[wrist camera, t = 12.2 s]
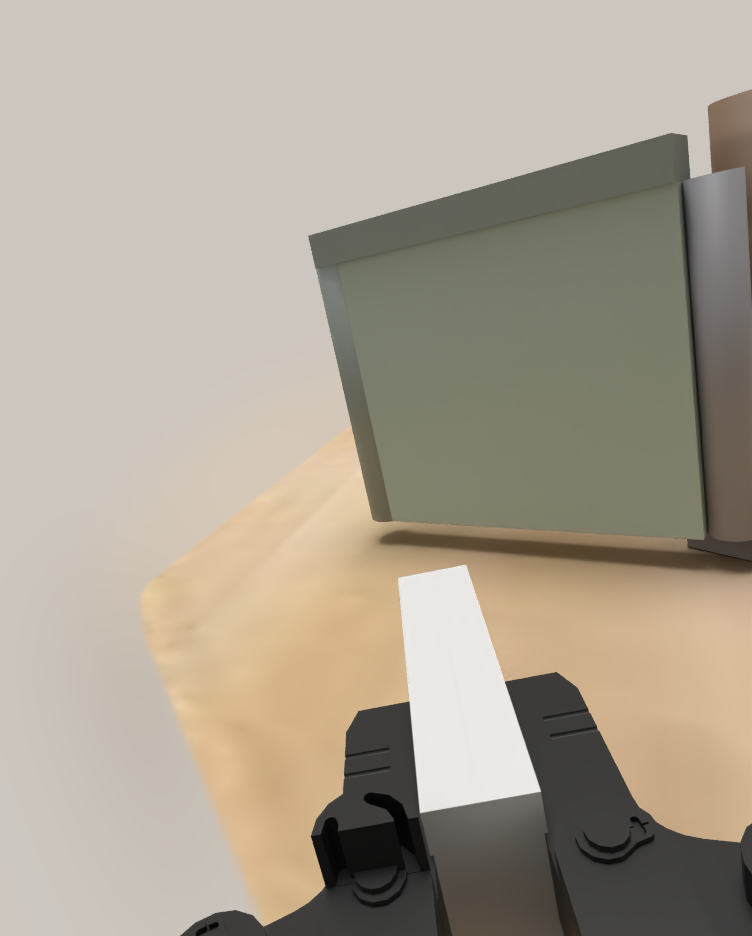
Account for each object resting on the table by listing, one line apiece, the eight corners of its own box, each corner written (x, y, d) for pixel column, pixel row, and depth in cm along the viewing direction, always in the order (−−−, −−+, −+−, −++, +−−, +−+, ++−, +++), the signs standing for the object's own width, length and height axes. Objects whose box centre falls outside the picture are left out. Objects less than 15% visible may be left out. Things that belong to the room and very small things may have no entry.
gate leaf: (767, 519, 28) (747, 118, 24) (758, 546, 26) (736, 114, 22) (388, 504, 40) (329, 234, 36) (363, 521, 38) (298, 238, 34)
